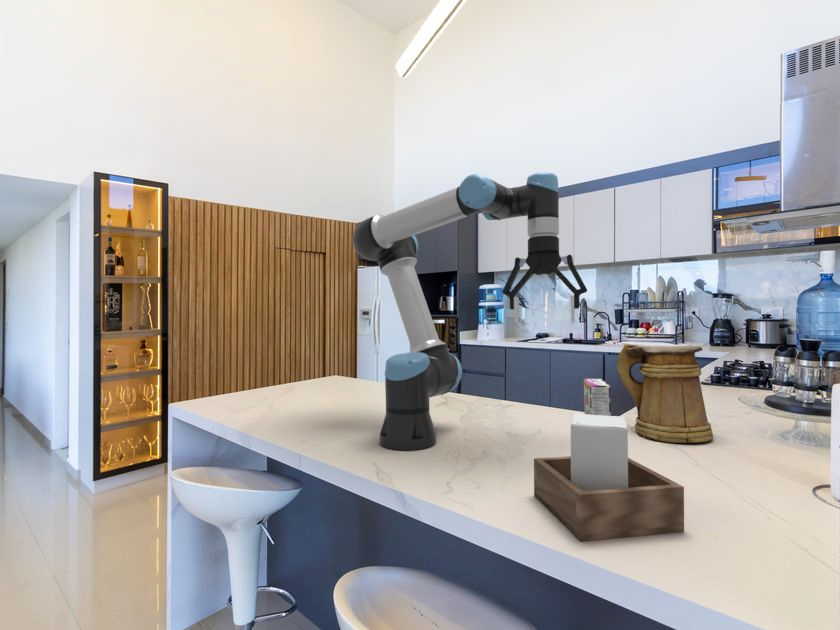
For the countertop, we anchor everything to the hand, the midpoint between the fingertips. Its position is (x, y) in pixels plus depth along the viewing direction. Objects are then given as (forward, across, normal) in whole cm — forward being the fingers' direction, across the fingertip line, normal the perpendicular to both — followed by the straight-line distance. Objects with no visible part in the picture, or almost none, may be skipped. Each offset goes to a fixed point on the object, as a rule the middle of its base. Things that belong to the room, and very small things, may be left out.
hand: (544, 322), depth 114 cm
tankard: (+32, -29, -25) cm, 50 cm away
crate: (+32, -13, +33) cm, 48 cm away
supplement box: (+31, -12, +33) cm, 47 cm away
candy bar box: (+32, -12, -8) cm, 35 cm away
